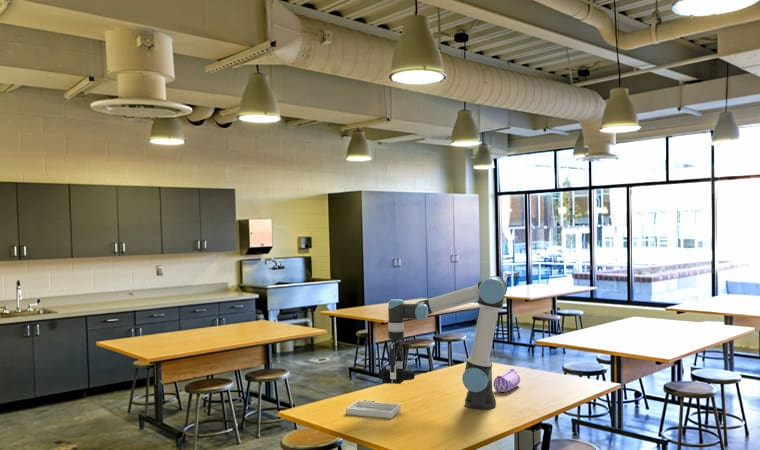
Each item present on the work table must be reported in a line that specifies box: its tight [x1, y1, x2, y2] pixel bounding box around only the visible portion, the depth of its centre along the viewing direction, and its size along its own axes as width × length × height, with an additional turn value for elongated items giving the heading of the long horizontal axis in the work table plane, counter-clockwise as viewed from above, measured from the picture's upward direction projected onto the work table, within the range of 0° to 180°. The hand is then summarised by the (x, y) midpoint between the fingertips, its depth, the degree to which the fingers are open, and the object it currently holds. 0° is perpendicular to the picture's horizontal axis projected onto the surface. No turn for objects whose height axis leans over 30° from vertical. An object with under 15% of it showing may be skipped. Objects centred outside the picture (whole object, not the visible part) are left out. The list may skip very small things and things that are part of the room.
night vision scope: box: [378, 366, 416, 385], centre depth 293 cm, size 8×18×10 cm
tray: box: [345, 400, 402, 420], centre depth 284 cm, size 22×14×3 cm, turn 71°
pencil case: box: [493, 368, 521, 393], centre depth 326 cm, size 22×9×10 cm, turn 151°
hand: (396, 376), depth 294 cm, fingers closed on night vision scope, 9 cm apart
